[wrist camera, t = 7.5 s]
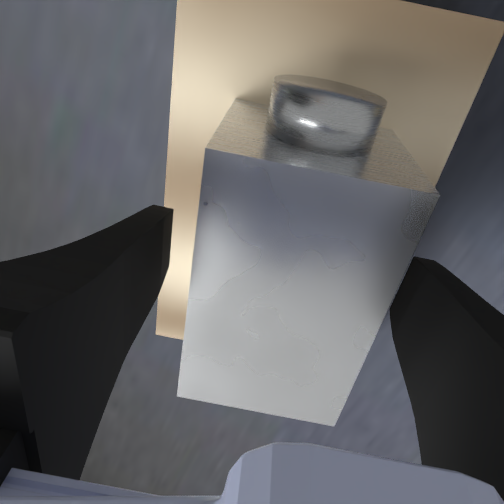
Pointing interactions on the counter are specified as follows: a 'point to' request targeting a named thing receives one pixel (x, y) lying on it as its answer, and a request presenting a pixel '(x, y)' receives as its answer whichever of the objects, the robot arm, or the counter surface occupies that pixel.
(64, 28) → the counter surface
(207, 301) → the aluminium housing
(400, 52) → the wood stand
